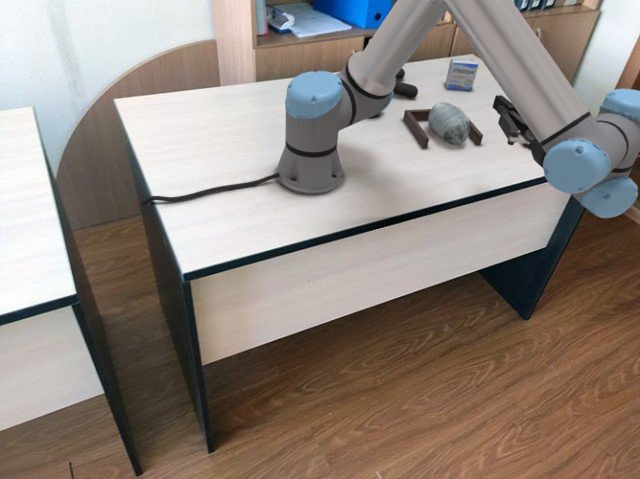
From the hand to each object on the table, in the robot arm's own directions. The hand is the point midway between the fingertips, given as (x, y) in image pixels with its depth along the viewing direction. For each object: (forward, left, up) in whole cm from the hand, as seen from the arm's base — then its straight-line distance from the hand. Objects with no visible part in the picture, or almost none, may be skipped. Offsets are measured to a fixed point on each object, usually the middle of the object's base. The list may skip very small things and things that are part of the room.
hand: (497, 101), depth 110 cm
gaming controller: (-3, +50, -20) cm, 54 cm away
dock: (+1, +22, -20) cm, 30 cm away
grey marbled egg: (+1, +20, -20) cm, 29 cm away
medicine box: (+18, +49, -20) cm, 56 cm away
